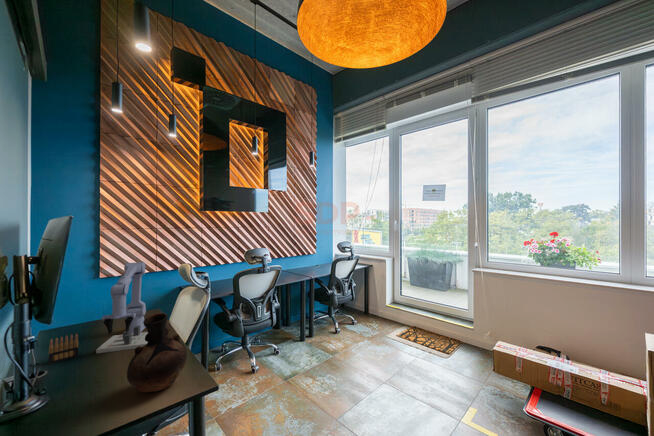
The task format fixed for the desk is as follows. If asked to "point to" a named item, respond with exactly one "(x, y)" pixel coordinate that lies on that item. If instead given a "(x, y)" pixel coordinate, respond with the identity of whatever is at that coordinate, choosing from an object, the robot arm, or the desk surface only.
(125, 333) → the block
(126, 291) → the robot arm
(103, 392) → the desk surface
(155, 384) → the ceramic vessel
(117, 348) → the breaker panel
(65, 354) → the ammunition clip
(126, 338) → the block
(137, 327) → the block
